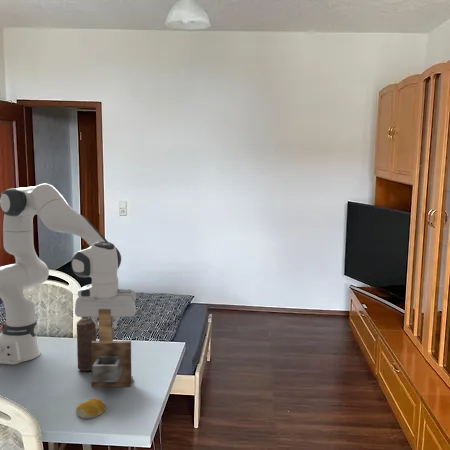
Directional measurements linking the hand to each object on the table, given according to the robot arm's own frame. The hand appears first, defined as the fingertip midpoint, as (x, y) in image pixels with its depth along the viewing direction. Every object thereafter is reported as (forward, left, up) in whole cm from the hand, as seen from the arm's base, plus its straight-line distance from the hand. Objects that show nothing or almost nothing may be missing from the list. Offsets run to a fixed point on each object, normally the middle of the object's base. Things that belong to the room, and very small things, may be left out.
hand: (106, 328), depth 167 cm
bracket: (0, +3, -24) cm, 24 cm away
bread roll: (-3, -13, -24) cm, 28 cm away
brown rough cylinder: (-12, +19, -24) cm, 33 cm away
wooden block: (0, 0, -5) cm, 5 cm away
